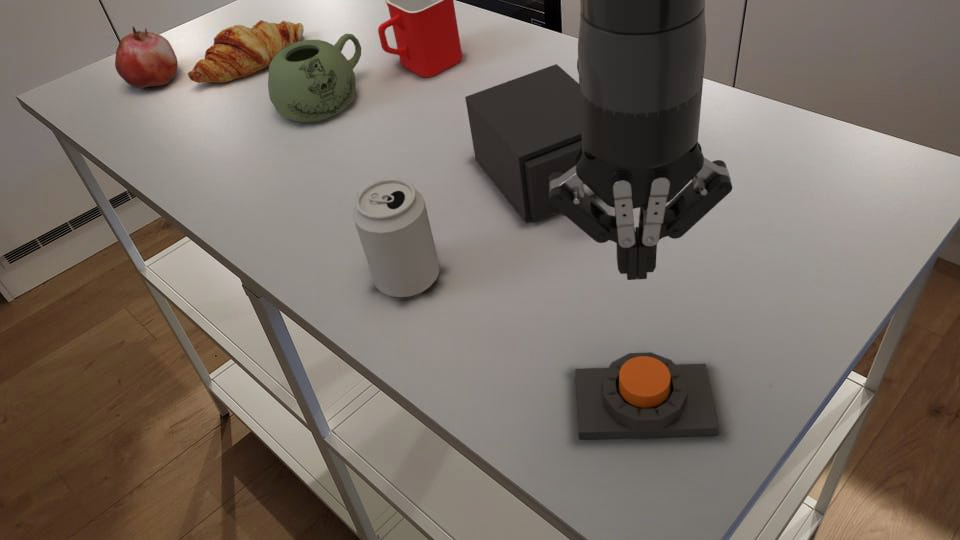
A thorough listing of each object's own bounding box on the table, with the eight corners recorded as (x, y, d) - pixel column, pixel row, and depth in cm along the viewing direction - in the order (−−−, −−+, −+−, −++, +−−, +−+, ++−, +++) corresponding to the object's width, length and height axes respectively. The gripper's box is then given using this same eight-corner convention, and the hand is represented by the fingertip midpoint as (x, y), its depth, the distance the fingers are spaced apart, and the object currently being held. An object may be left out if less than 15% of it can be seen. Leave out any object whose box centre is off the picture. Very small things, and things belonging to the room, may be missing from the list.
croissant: (301, 49, 133) (278, 6, 131) (323, 38, 125) (299, -8, 122) (195, 102, 124) (168, 57, 121) (211, 94, 116) (182, 45, 113)
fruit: (119, 85, 126) (90, 29, 119) (171, 61, 129) (145, 5, 122) (140, 104, 120) (111, 46, 113) (194, 78, 124) (168, 21, 117)
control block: (704, 369, 71) (707, 349, 69) (718, 437, 66) (721, 417, 64) (575, 374, 72) (574, 355, 70) (579, 441, 67) (577, 422, 65)
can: (435, 302, 81) (414, 219, 73) (368, 302, 83) (340, 220, 74) (445, 254, 86) (427, 170, 78) (382, 254, 88) (357, 173, 79)
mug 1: (307, 139, 107) (288, 85, 101) (259, 109, 114) (239, 58, 108) (393, 88, 114) (381, 35, 108) (343, 63, 121) (329, 12, 115)
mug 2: (436, 42, 122) (424, -22, 115) (468, 58, 117) (458, -8, 110) (376, 74, 117) (359, 9, 110) (406, 92, 112) (391, 25, 105)
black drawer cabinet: (619, 185, 91) (619, 118, 84) (525, 223, 88) (518, 157, 82) (560, 127, 101) (556, 63, 94) (475, 160, 98) (464, 96, 92)
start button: (666, 366, 68) (667, 354, 67) (672, 407, 65) (673, 395, 64) (617, 368, 69) (617, 356, 68) (621, 409, 66) (621, 397, 65)
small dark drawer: (639, 206, 87) (641, 151, 81) (551, 242, 84) (547, 188, 79) (564, 132, 99) (561, 79, 93) (486, 162, 96) (478, 110, 91)
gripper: (533, 118, 45) (551, 312, 57) (764, 98, 43) (733, 303, 55) (532, 54, 50) (549, 244, 62) (739, 34, 48) (715, 233, 61)
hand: (636, 271), depth 59 cm, fingers closed
